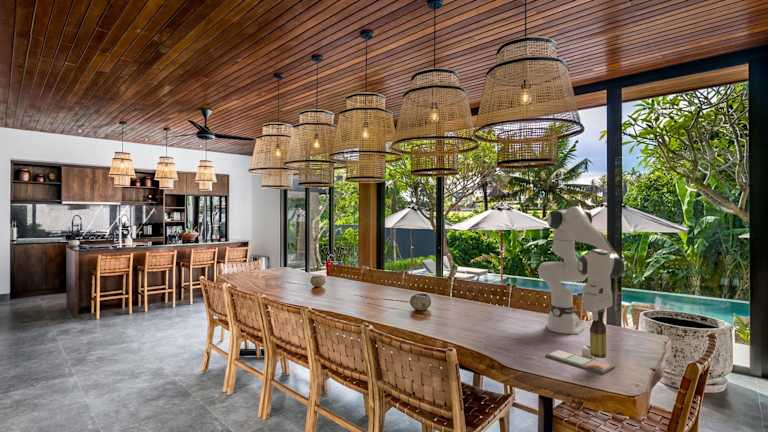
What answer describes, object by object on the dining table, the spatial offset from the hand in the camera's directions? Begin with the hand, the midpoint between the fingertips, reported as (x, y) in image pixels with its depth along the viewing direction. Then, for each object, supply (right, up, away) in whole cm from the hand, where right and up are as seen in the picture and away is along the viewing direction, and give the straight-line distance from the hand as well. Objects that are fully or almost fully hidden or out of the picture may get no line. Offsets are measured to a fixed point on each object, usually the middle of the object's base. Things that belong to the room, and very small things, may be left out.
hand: (598, 319), depth 167 cm
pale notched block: (+3, -21, +12) cm, 25 cm away
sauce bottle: (0, -16, 0) cm, 16 cm away
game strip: (-5, -21, +6) cm, 22 cm away
